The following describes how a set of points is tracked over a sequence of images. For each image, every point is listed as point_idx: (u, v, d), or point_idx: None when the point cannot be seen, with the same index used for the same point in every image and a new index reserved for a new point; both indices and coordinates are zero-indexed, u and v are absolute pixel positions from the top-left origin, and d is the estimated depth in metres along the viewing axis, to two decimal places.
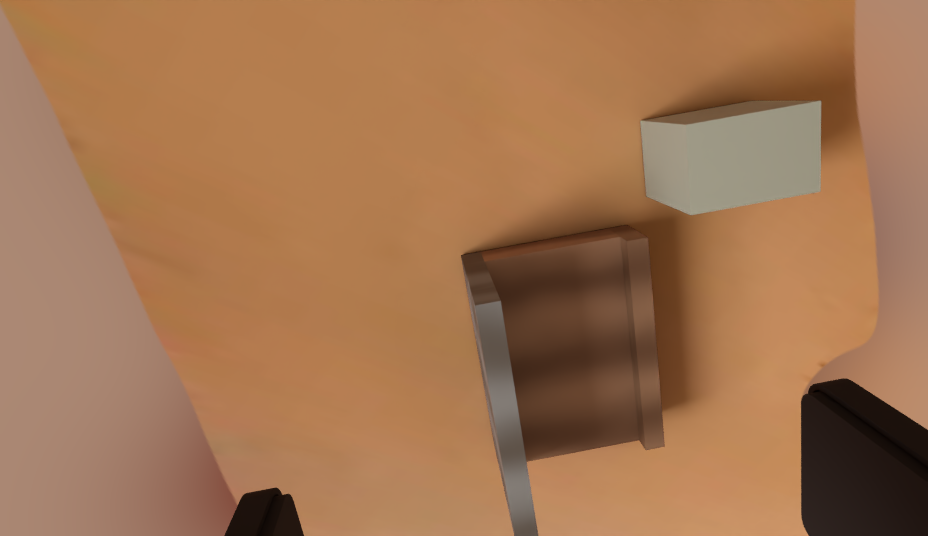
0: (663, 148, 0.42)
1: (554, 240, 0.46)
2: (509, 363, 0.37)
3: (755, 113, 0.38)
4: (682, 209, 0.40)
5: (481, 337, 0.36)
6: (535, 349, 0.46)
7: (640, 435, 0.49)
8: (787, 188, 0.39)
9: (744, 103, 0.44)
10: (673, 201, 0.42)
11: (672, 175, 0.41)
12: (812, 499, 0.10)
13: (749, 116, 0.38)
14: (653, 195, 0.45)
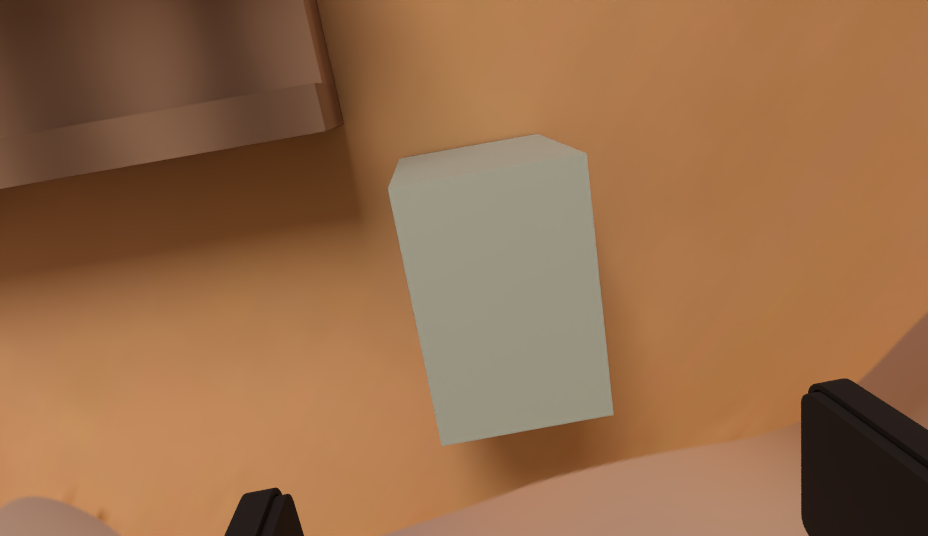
0: (508, 151, 0.21)
1: None
2: None
3: (599, 297, 0.19)
4: (395, 181, 0.19)
5: None
6: None
7: None
8: (447, 383, 0.19)
9: None
10: (407, 173, 0.20)
11: (460, 164, 0.20)
12: (812, 500, 0.10)
13: (593, 285, 0.19)
14: (406, 161, 0.23)
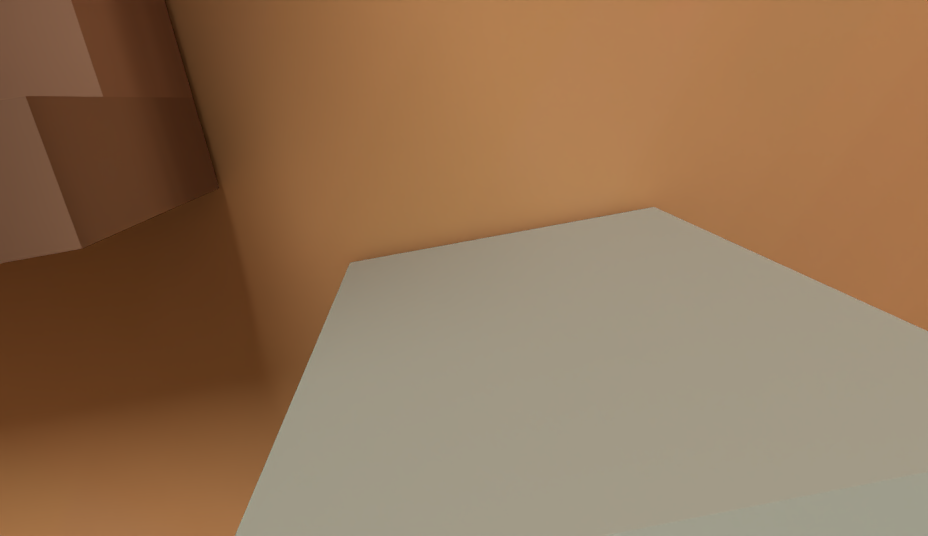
0: (637, 290, 0.07)
1: None
2: None
3: None
4: (278, 477, 0.05)
5: None
6: None
7: None
8: None
9: None
10: (339, 387, 0.06)
11: (512, 356, 0.06)
12: None
13: None
14: (359, 283, 0.10)
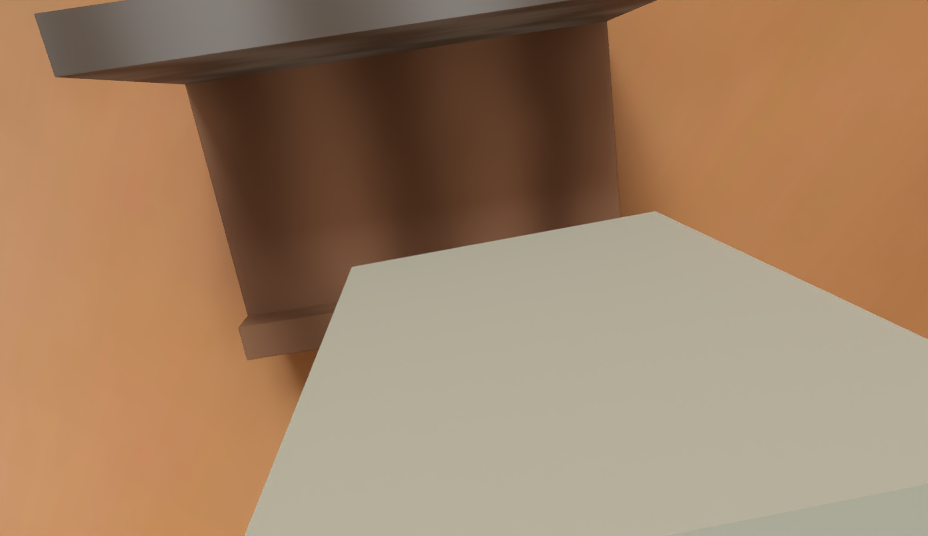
0: (640, 296, 0.07)
1: None
2: None
3: None
4: (282, 486, 0.05)
5: None
6: (433, 118, 0.25)
7: (261, 316, 0.27)
8: None
9: None
10: (343, 395, 0.06)
11: (514, 364, 0.06)
12: None
13: None
14: (361, 288, 0.10)
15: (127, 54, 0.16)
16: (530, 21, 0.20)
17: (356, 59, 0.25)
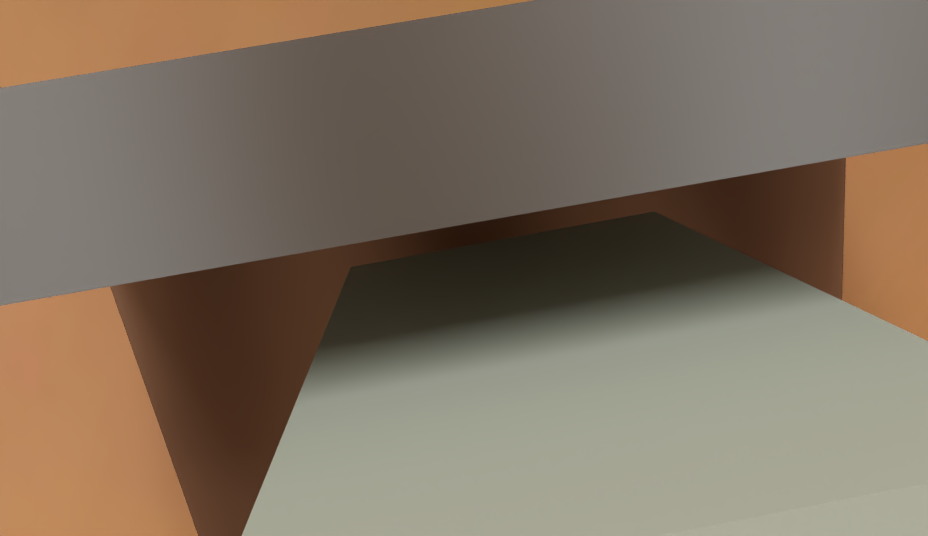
0: (637, 297, 0.07)
1: None
2: None
3: None
4: (280, 487, 0.05)
5: None
6: None
7: None
8: None
9: None
10: (341, 395, 0.06)
11: (511, 364, 0.06)
12: None
13: None
14: (360, 289, 0.10)
15: None
16: None
17: None
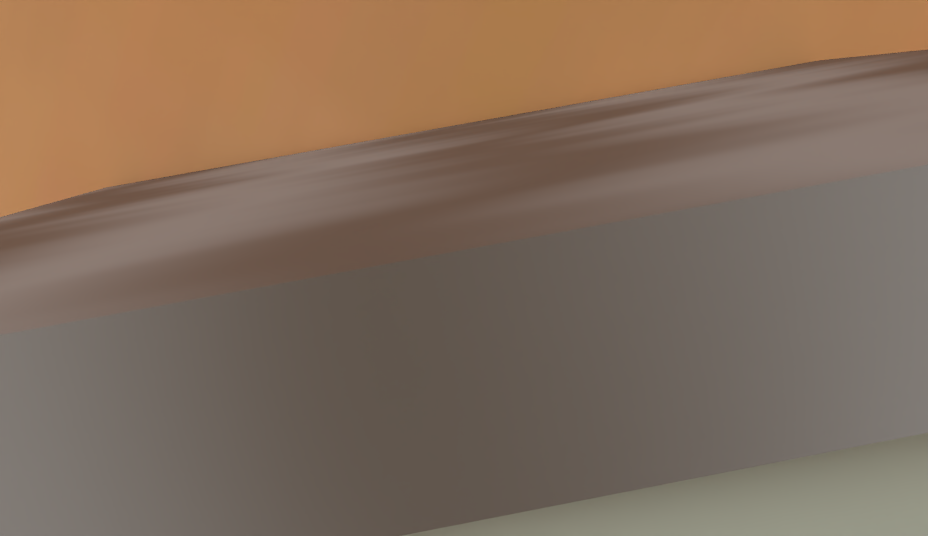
0: None
1: None
2: None
3: None
4: None
5: None
6: None
7: None
8: None
9: None
10: None
11: None
12: None
13: None
14: None
15: None
16: None
17: None
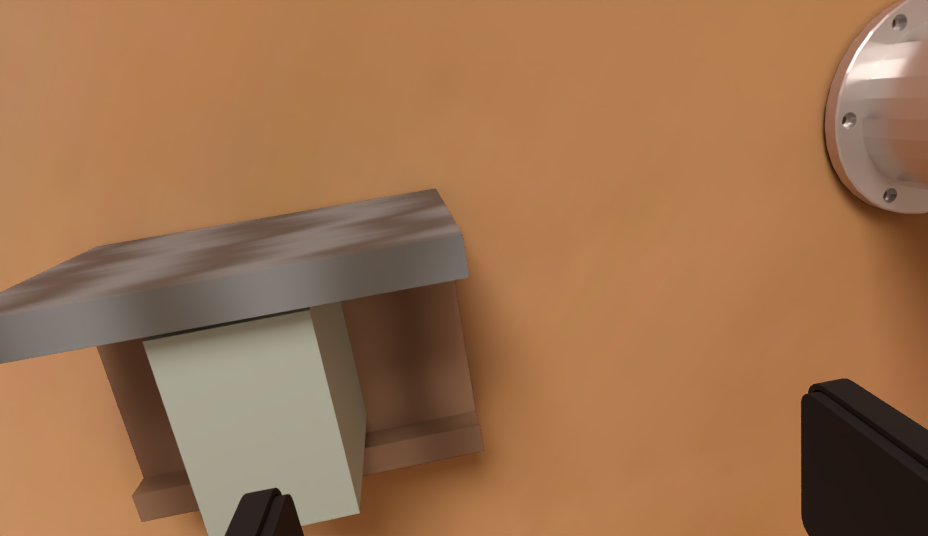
0: None
1: None
2: (350, 297, 0.20)
3: (334, 420, 0.23)
4: None
5: (401, 246, 0.20)
6: None
7: (155, 480, 0.31)
8: (211, 493, 0.23)
9: (361, 403, 0.30)
10: None
11: None
12: (812, 499, 0.10)
13: (328, 411, 0.23)
14: None
15: None
16: None
17: None
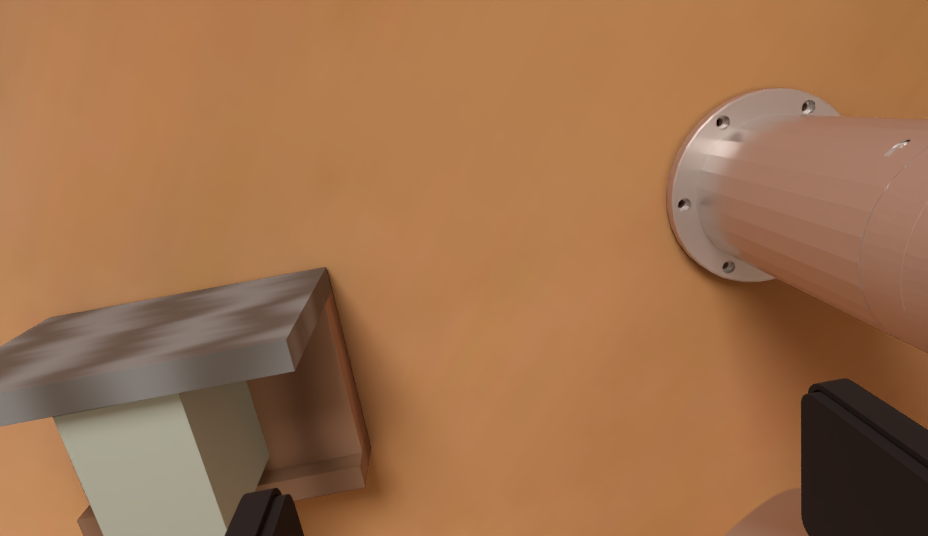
0: None
1: (350, 375, 0.39)
2: (202, 386, 0.27)
3: (205, 474, 0.29)
4: None
5: (239, 349, 0.26)
6: None
7: None
8: (114, 529, 0.30)
9: (260, 448, 0.37)
10: None
11: None
12: (812, 499, 0.10)
13: (200, 468, 0.29)
14: None
15: None
16: None
17: None
